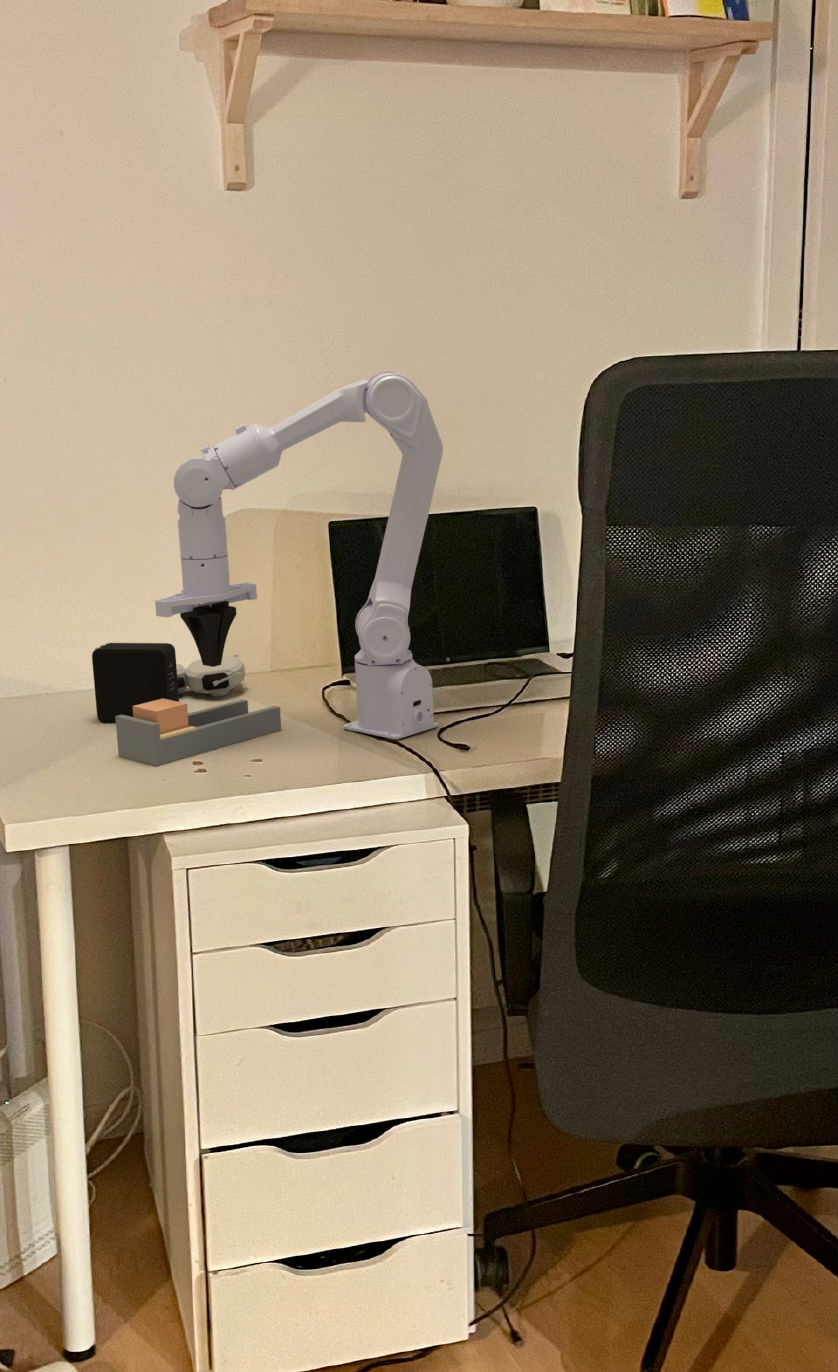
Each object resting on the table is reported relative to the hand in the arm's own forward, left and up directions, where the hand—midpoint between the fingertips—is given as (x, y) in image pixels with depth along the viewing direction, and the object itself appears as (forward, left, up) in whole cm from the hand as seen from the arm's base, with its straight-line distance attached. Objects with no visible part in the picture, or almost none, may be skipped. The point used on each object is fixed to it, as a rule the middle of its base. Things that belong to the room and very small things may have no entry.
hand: (212, 665), depth 188 cm
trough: (0, +2, -9) cm, 10 cm away
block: (0, +9, -8) cm, 12 cm away
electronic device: (+16, 0, -10) cm, 18 cm away
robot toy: (+22, -14, -10) cm, 28 cm away
